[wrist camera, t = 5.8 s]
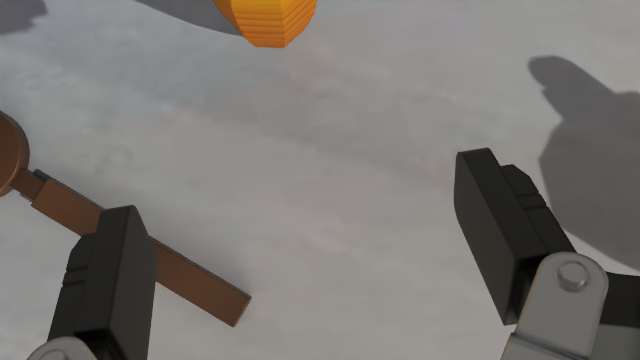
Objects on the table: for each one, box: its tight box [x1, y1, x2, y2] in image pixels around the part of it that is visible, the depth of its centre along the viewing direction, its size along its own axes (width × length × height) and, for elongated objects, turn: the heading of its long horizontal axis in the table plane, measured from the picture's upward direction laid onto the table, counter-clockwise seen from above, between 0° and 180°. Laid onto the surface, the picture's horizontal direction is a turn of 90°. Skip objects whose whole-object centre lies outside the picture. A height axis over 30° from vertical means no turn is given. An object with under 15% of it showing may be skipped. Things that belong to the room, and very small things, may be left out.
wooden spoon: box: [0, 112, 251, 327], centre depth 31 cm, size 19×5×1 cm, turn 59°
